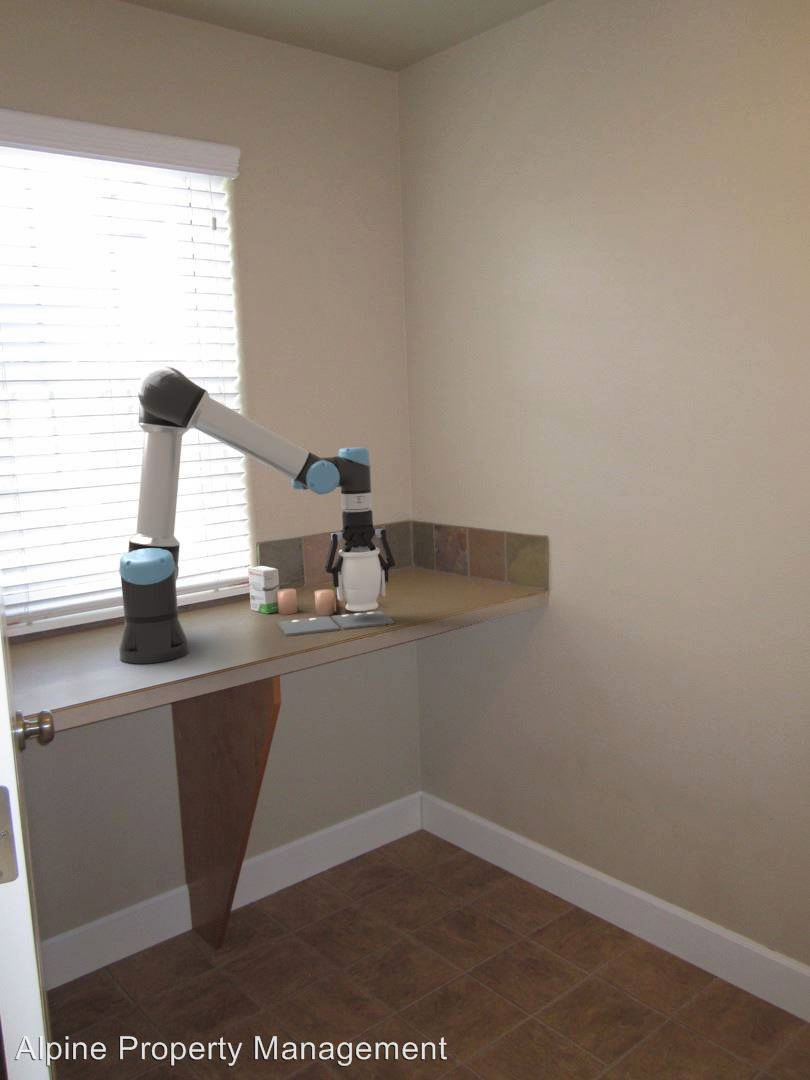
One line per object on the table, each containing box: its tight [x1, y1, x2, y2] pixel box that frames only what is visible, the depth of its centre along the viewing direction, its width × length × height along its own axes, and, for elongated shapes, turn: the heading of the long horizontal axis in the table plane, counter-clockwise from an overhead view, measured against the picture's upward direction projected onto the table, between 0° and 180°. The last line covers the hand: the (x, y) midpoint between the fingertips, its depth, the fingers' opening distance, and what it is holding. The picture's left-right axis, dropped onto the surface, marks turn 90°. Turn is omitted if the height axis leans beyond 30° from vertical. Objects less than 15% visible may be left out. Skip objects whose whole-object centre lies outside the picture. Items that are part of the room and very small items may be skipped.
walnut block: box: [334, 593, 363, 615], centre depth 234 cm, size 5×5×5 cm
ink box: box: [247, 565, 280, 615], centre depth 240 cm, size 9×5×12 cm, turn 39°
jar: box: [338, 546, 382, 612], centre depth 223 cm, size 11×10×15 cm
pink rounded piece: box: [314, 588, 336, 617], centre depth 234 cm, size 5×5×6 cm
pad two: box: [277, 616, 340, 637], centre depth 220 cm, size 13×13×1 cm
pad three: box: [331, 610, 395, 630], centre depth 224 cm, size 13×13×1 cm
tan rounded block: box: [277, 588, 298, 616], centre depth 237 cm, size 5×5×6 cm
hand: (361, 597), depth 223 cm, fingers closed on jar, 10 cm apart
